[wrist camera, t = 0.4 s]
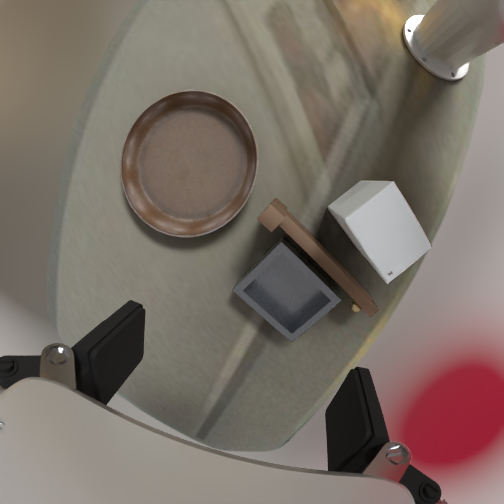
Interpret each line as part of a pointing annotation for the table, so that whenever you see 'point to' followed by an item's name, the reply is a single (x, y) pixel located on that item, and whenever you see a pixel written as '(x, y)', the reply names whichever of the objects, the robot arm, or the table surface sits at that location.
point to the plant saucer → (189, 163)
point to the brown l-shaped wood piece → (317, 254)
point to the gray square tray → (287, 290)
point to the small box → (381, 226)
